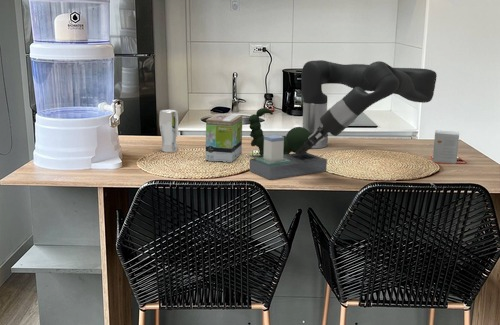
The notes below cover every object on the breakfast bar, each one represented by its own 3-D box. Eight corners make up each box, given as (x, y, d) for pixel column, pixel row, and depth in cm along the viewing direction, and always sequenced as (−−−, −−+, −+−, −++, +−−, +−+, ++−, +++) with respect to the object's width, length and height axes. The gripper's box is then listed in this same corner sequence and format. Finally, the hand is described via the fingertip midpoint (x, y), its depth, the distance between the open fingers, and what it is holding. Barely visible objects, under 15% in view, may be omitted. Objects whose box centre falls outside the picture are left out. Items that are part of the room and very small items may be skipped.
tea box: (233, 163, 189) (233, 120, 185) (204, 161, 190) (204, 119, 187) (242, 153, 203) (242, 113, 199) (216, 152, 205) (215, 112, 201)
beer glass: (156, 151, 204) (155, 111, 200) (166, 147, 210) (165, 108, 207) (173, 153, 201) (172, 112, 198) (182, 149, 208) (181, 110, 204)
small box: (456, 160, 196) (459, 131, 194) (456, 164, 191) (459, 134, 189) (432, 158, 199) (435, 129, 196) (432, 162, 194) (435, 132, 191)
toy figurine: (251, 164, 194) (322, 159, 193) (247, 111, 190) (320, 105, 188) (252, 158, 203) (320, 153, 202) (248, 107, 199) (318, 102, 197)
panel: (304, 163, 189) (304, 150, 188) (326, 171, 179) (326, 157, 178) (249, 171, 178) (249, 157, 177) (269, 179, 168) (270, 165, 167)
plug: (274, 171, 179) (275, 134, 176) (283, 174, 175) (284, 137, 172) (263, 172, 176) (263, 136, 174) (270, 176, 173) (271, 138, 170)
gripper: (344, 130, 158) (303, 165, 164) (351, 122, 171) (313, 155, 177) (326, 111, 158) (286, 147, 164) (334, 104, 171) (298, 138, 177)
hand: (300, 151), depth 171 cm, fingers open, 8 cm apart
